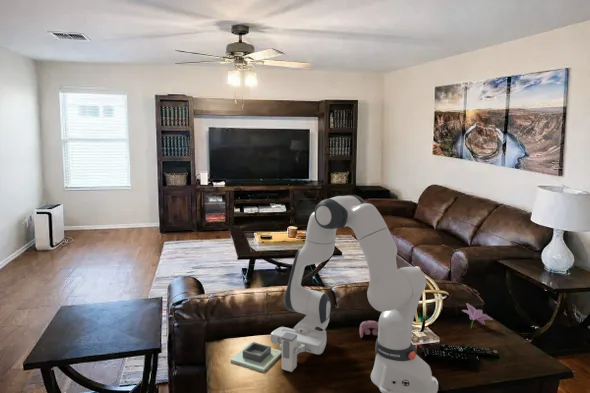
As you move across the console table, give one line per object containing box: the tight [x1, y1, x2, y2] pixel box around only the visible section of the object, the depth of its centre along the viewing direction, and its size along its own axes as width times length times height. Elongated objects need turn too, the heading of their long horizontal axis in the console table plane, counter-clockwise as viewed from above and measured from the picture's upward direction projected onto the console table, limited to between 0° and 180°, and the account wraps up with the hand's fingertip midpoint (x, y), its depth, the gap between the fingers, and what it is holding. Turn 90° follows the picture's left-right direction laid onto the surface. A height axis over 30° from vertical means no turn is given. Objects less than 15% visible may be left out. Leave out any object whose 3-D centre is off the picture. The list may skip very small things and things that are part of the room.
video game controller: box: [358, 320, 379, 339], centre depth 190 cm, size 10×5×7 cm, turn 85°
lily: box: [461, 303, 493, 329], centre depth 200 cm, size 12×12×10 cm
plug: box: [281, 332, 298, 373], centre depth 162 cm, size 4×5×12 cm
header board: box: [230, 341, 282, 373], centre depth 171 cm, size 14×14×4 cm
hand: (288, 350), depth 161 cm, fingers closed on plug, 4 cm apart
